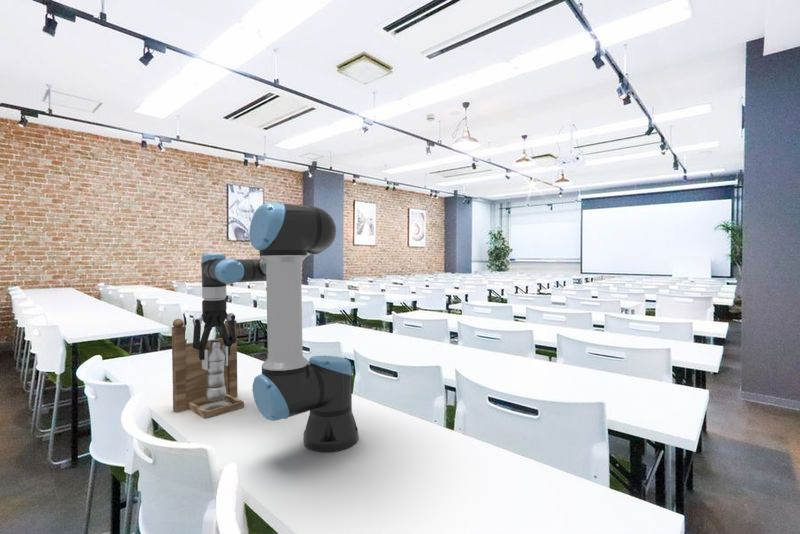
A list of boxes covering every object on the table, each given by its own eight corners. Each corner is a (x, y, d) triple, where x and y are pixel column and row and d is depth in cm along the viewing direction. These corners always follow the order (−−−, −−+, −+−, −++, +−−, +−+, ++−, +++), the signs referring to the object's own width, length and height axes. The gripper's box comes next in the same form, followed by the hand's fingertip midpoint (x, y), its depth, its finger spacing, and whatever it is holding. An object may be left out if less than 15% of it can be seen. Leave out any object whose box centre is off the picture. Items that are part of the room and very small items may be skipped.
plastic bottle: (218, 404, 136) (217, 344, 136) (200, 402, 138) (199, 343, 137) (230, 397, 143) (229, 340, 142) (212, 396, 144) (212, 339, 144)
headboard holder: (255, 404, 144) (254, 316, 143) (191, 422, 128) (190, 323, 127) (233, 394, 154) (232, 312, 153) (172, 410, 138) (171, 318, 137)
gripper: (236, 296, 149) (236, 359, 150) (179, 300, 134) (180, 370, 135) (246, 297, 144) (247, 363, 145) (189, 302, 130) (190, 375, 130)
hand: (215, 366), depth 140 cm, fingers closed on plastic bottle, 6 cm apart
